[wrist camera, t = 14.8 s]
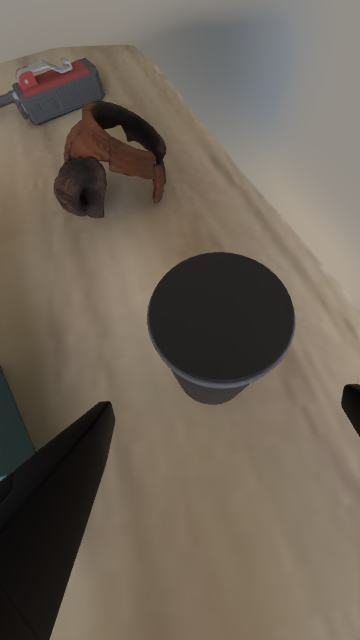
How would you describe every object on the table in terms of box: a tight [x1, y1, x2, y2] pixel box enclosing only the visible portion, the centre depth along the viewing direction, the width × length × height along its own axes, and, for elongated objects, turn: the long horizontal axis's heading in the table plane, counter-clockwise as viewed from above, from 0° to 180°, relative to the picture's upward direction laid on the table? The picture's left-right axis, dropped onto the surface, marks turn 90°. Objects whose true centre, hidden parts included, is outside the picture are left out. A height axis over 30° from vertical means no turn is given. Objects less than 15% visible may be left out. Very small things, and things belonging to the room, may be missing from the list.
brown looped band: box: [54, 101, 166, 218], centre depth 21 cm, size 12×10×8 cm
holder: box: [147, 252, 295, 405], centre depth 12 cm, size 5×5×9 cm
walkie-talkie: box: [0, 57, 105, 124], centre depth 32 cm, size 9×4×20 cm
